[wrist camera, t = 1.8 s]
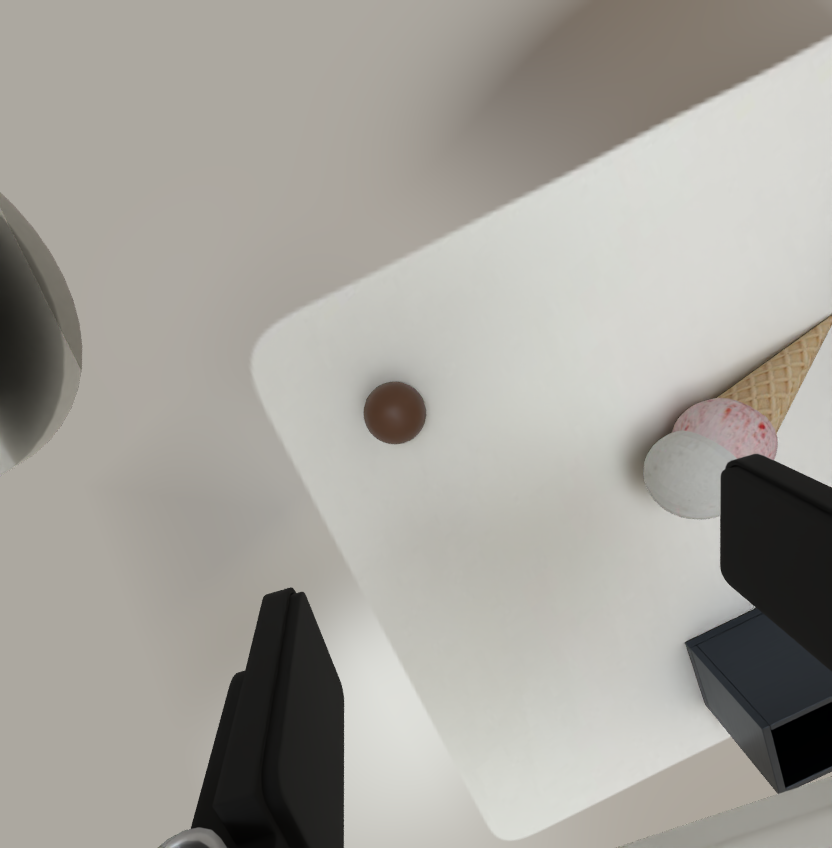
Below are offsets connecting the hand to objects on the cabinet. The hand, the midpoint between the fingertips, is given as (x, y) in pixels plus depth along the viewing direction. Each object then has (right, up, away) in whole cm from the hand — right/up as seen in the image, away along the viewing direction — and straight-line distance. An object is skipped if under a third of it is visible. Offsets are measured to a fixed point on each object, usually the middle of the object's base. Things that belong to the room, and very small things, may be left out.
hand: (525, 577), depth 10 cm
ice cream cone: (+15, +5, +17) cm, 23 cm away
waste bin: (+22, -13, +24) cm, 35 cm away
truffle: (-3, +4, +13) cm, 13 cm away
